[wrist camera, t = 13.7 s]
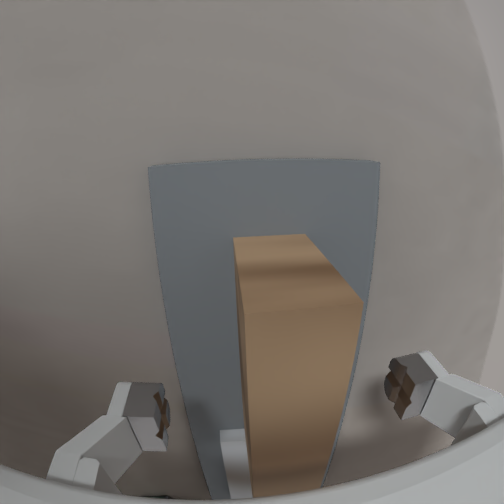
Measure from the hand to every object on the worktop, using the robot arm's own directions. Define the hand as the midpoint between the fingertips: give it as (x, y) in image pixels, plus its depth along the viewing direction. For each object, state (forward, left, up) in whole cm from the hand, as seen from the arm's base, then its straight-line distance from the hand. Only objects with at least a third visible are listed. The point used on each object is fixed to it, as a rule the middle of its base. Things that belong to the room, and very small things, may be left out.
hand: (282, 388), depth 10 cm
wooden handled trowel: (+5, 0, -3) cm, 5 cm away
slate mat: (+4, 0, -4) cm, 5 cm away
